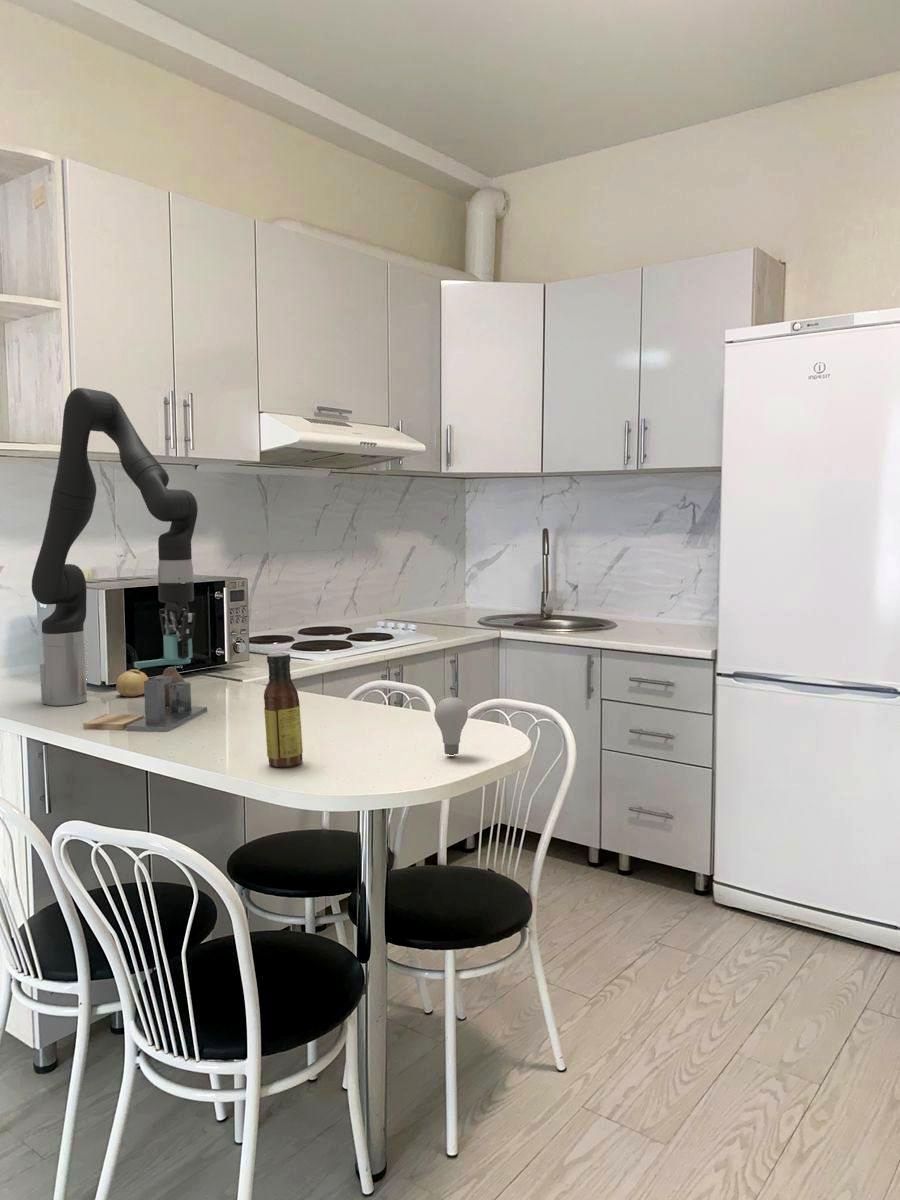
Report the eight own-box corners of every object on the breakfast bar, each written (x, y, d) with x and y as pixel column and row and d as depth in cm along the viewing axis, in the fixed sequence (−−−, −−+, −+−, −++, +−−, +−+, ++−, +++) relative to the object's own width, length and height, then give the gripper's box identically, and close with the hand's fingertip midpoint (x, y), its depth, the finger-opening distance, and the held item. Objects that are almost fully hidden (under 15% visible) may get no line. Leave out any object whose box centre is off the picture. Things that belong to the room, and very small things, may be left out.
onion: (112, 699, 224) (110, 670, 224) (122, 692, 232) (121, 665, 232) (144, 698, 225) (143, 670, 224) (154, 692, 233) (153, 664, 232)
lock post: (126, 730, 190) (124, 683, 189) (170, 710, 210) (168, 667, 209) (167, 731, 189) (165, 684, 188) (207, 711, 209) (205, 667, 208)
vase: (181, 707, 213) (180, 670, 212) (152, 708, 213) (150, 670, 212) (190, 701, 220) (189, 665, 219) (162, 702, 220) (160, 666, 219)
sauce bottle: (307, 760, 166) (304, 651, 164) (296, 769, 160) (293, 656, 158) (273, 758, 167) (269, 651, 165) (260, 768, 161) (257, 656, 159)
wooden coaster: (83, 728, 192) (83, 723, 192) (105, 719, 201) (105, 714, 201) (123, 730, 191) (123, 724, 191) (144, 720, 200) (143, 715, 200)
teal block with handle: (130, 666, 200) (129, 638, 199) (184, 660, 208) (183, 633, 207) (140, 669, 196) (139, 640, 195) (194, 662, 204) (193, 635, 204)
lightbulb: (465, 762, 163) (464, 701, 162) (431, 760, 164) (431, 700, 163) (470, 753, 169) (470, 694, 168) (438, 752, 170) (437, 693, 169)
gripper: (146, 579, 205) (148, 654, 207) (173, 582, 195) (176, 662, 196) (177, 577, 210) (180, 651, 212) (206, 581, 200) (208, 658, 201)
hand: (178, 655), depth 204 cm, fingers closed on teal block with handle, 4 cm apart
